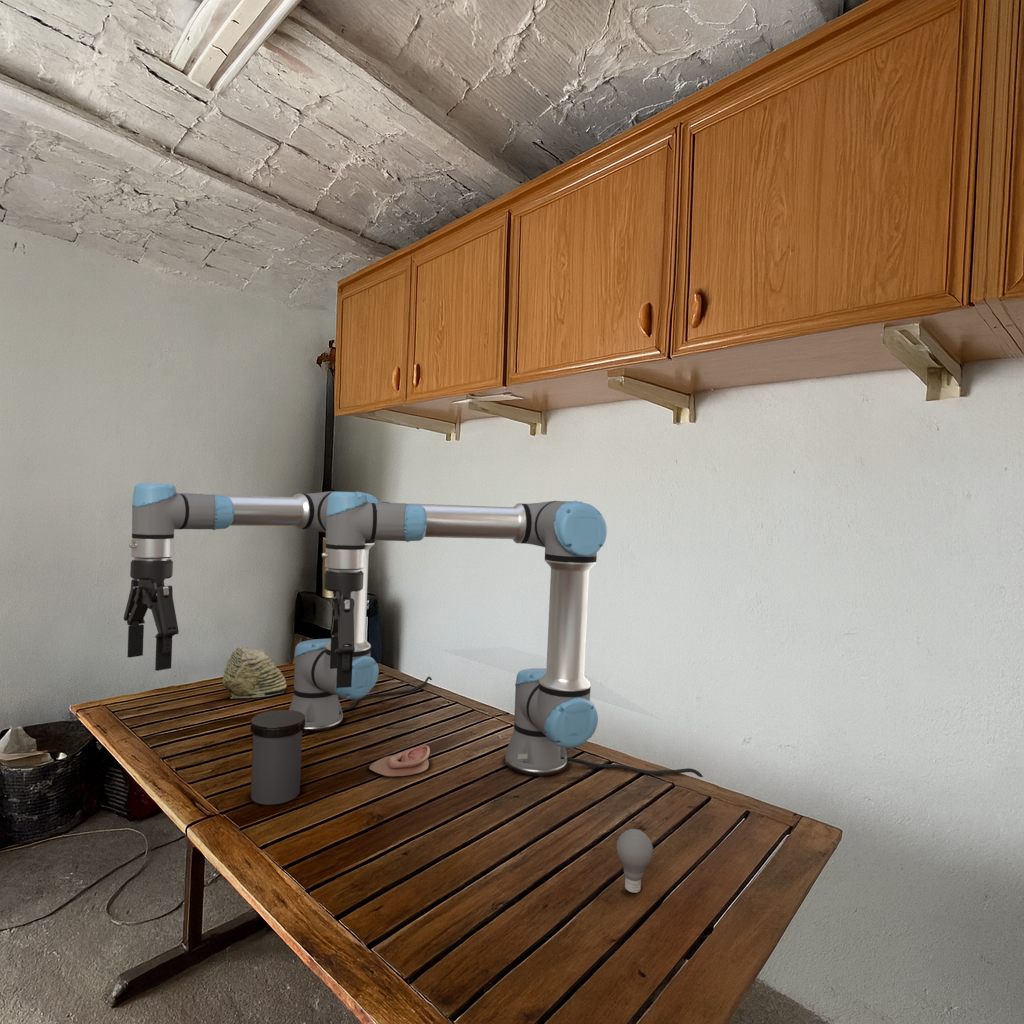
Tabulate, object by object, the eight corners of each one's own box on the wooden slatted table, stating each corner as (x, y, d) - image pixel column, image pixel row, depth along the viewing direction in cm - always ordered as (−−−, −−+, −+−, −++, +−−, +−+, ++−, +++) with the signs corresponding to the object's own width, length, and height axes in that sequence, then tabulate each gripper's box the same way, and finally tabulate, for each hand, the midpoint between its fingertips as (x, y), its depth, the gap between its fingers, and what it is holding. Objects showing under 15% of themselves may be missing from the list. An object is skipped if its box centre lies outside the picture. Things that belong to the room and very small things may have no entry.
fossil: (218, 695, 195) (220, 647, 195) (278, 685, 208) (279, 640, 207) (228, 703, 189) (230, 653, 188) (289, 692, 201) (290, 645, 201)
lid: (241, 736, 129) (241, 726, 129) (263, 718, 140) (263, 708, 140) (293, 739, 128) (294, 728, 128) (312, 720, 139) (312, 711, 139)
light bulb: (610, 879, 108) (613, 822, 108) (644, 879, 109) (647, 822, 109) (619, 902, 102) (622, 840, 102) (655, 901, 103) (658, 840, 103)
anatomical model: (363, 756, 145) (383, 738, 157) (363, 773, 146) (383, 754, 157) (418, 763, 143) (435, 744, 154) (418, 780, 143) (434, 760, 154)
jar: (242, 803, 130) (245, 727, 129) (262, 782, 139) (265, 711, 139) (289, 806, 129) (292, 729, 129) (306, 784, 139) (309, 713, 139)
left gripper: (108, 554, 134) (104, 654, 134) (159, 565, 118) (155, 678, 119) (146, 552, 140) (143, 648, 140) (199, 563, 124) (195, 671, 124)
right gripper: (319, 563, 135) (316, 661, 135) (330, 578, 112) (325, 697, 112) (355, 563, 138) (351, 660, 138) (373, 578, 114) (368, 694, 115)
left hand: (148, 662), depth 129 cm, fingers open, 13 cm apart
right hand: (340, 677), depth 125 cm, fingers open, 13 cm apart
